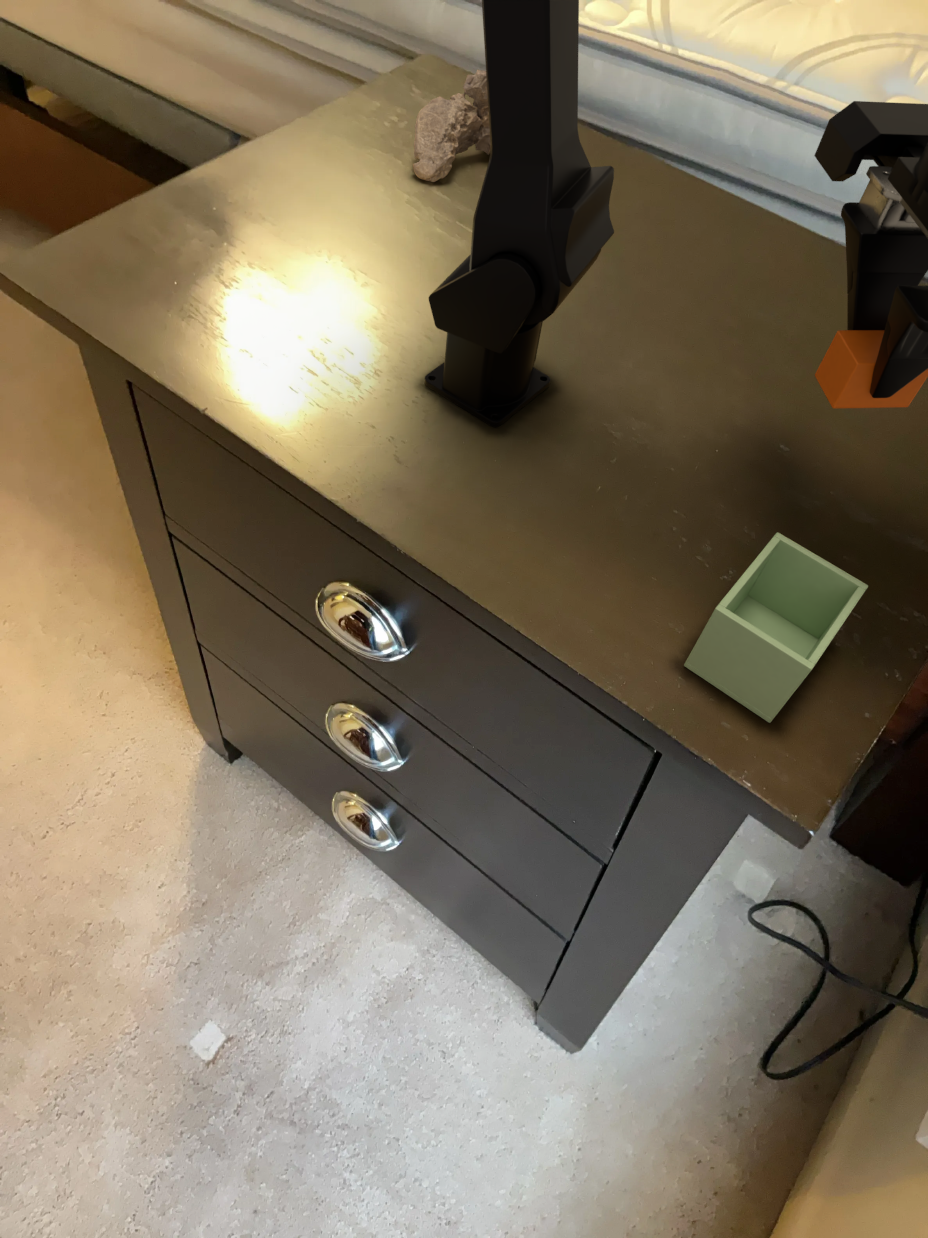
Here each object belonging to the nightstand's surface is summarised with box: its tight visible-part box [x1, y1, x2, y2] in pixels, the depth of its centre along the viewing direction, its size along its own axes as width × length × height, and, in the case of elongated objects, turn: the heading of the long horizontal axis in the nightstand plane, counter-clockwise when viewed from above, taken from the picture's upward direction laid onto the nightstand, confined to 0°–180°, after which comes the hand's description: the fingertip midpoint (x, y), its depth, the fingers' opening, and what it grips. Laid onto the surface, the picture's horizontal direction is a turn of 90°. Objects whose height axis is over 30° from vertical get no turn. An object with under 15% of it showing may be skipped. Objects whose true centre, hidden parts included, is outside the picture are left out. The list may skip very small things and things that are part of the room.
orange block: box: [814, 329, 928, 410], centre depth 46 cm, size 4×3×3 cm, turn 97°
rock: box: [412, 69, 491, 183], centre depth 75 cm, size 6×14×7 cm, turn 113°
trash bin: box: [683, 532, 869, 724], centre depth 46 cm, size 7×5×5 cm
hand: (867, 377), depth 47 cm, fingers closed on orange block, 3 cm apart
